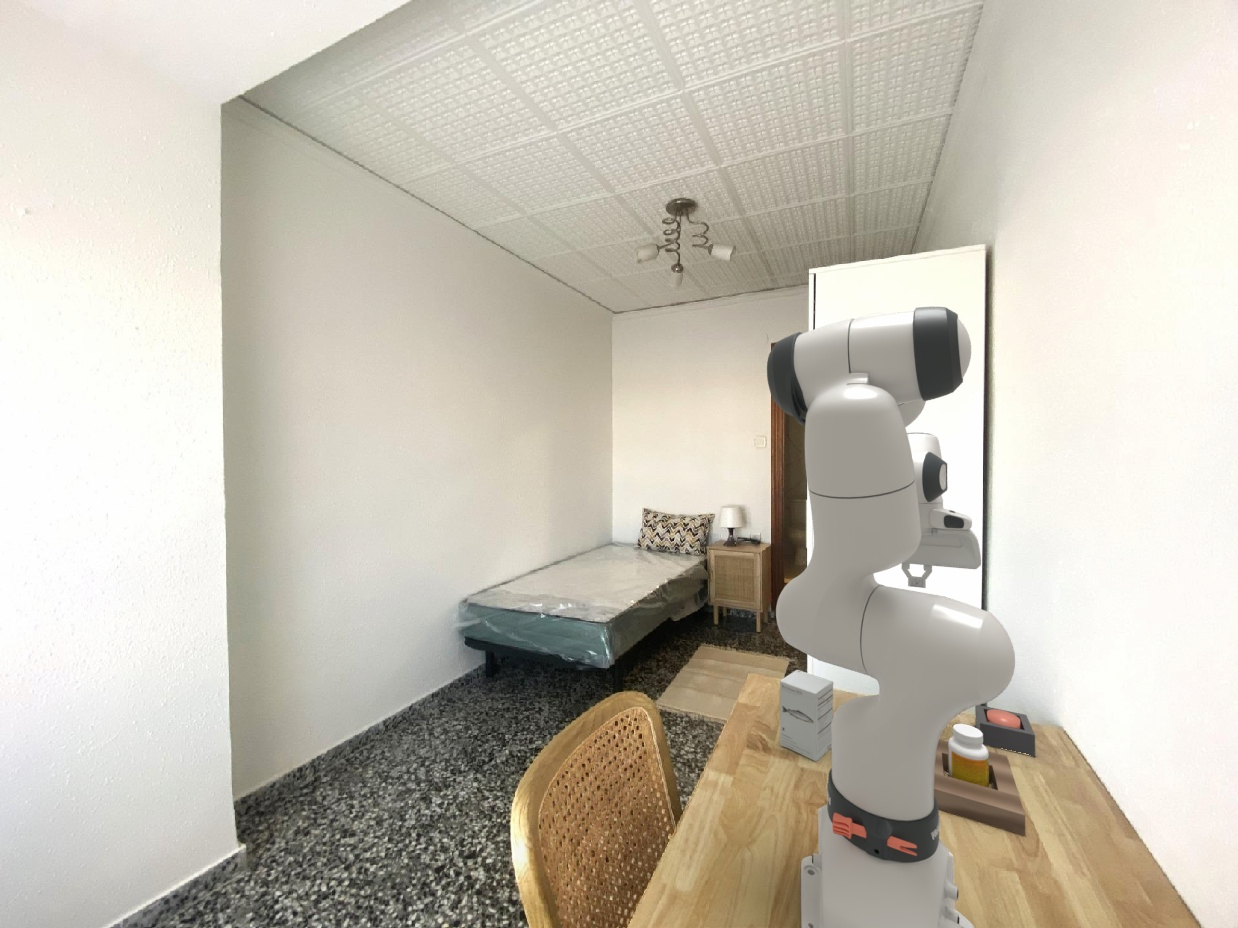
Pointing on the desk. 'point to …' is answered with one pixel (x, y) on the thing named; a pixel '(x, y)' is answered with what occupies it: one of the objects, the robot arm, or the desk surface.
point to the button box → (1006, 732)
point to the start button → (1003, 718)
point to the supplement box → (806, 714)
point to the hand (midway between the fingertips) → (916, 586)
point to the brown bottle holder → (980, 794)
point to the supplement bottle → (968, 756)
